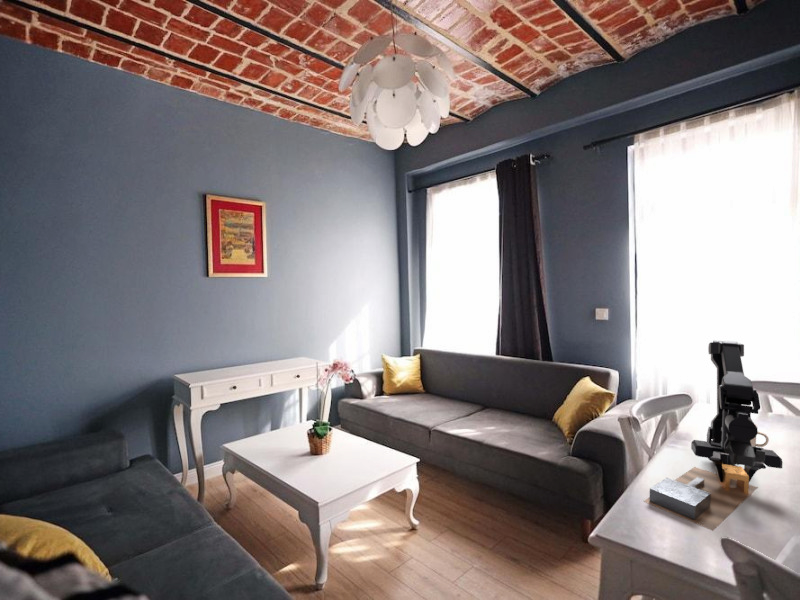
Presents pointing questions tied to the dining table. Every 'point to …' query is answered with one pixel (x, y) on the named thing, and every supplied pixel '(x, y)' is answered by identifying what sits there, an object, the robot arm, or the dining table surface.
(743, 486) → the block
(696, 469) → the walnut board
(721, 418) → the robot arm
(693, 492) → the grey flat rectangular block
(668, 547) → the dining table surface
